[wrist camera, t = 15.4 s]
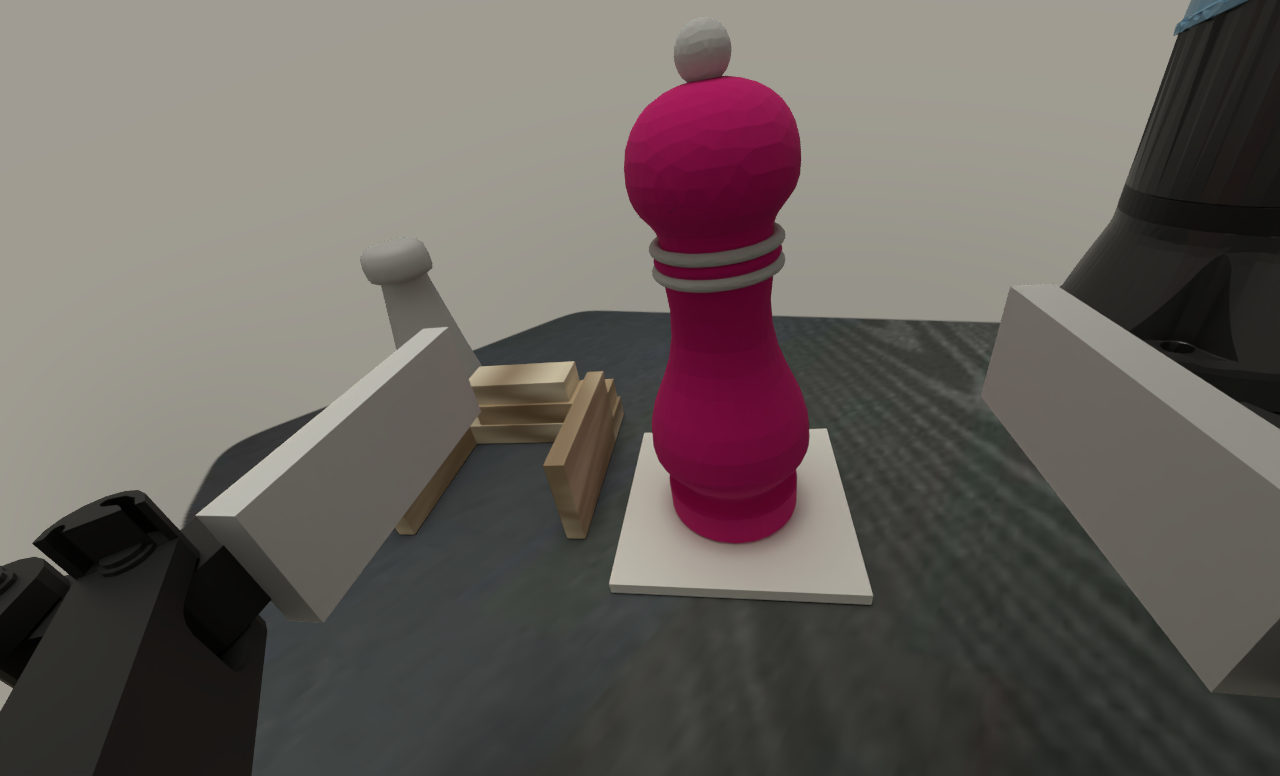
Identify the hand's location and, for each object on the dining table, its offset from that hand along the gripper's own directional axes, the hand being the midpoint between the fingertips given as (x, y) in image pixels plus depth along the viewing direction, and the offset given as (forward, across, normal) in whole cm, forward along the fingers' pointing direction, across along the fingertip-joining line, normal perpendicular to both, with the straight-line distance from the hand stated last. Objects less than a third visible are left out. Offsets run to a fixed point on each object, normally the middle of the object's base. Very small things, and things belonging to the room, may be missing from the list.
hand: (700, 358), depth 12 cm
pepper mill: (+8, 0, -13) cm, 15 cm away
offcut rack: (+11, -13, -13) cm, 21 cm away
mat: (+8, 0, -13) cm, 15 cm away
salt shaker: (+19, -22, -13) cm, 32 cm away
